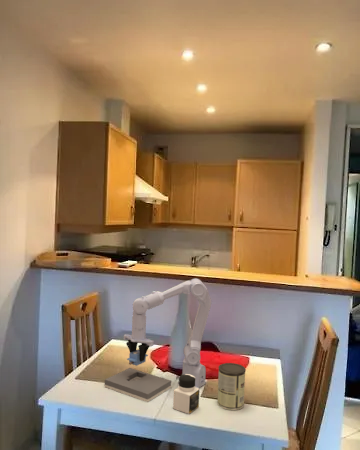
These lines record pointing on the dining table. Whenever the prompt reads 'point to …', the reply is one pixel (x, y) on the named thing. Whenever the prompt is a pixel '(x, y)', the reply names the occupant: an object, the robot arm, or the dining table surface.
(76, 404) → the dining table surface
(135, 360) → the servo
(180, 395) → the medicine bottle
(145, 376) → the grey flat block
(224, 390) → the coffee can
